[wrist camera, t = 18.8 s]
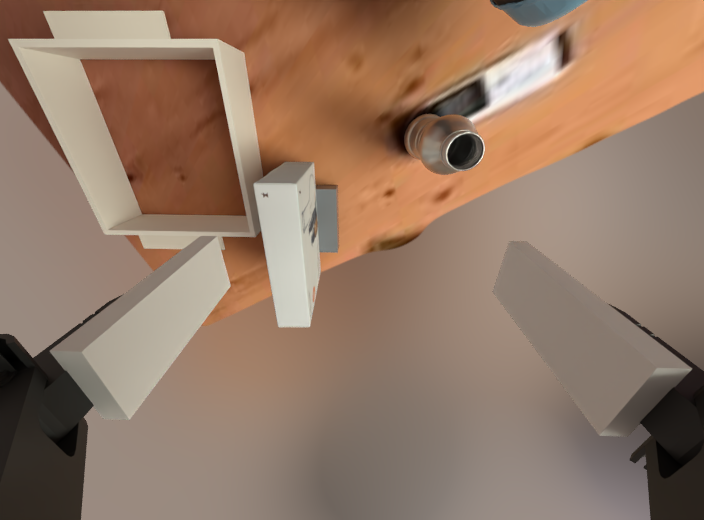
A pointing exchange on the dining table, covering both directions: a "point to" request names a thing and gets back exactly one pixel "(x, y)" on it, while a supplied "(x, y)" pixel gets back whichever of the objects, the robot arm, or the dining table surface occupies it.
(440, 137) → the plastic bottle
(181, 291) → the robot arm
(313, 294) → the skincare box
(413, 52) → the dining table surface
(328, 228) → the plate
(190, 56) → the tray
